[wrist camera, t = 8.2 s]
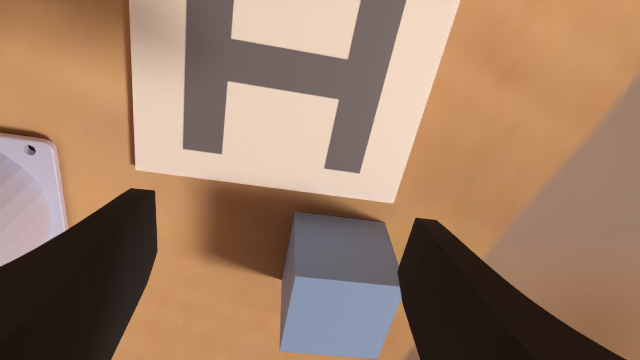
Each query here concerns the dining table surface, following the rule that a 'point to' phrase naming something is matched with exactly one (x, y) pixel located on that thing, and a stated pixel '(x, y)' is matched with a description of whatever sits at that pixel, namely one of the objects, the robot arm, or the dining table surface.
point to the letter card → (285, 90)
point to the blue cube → (338, 287)
